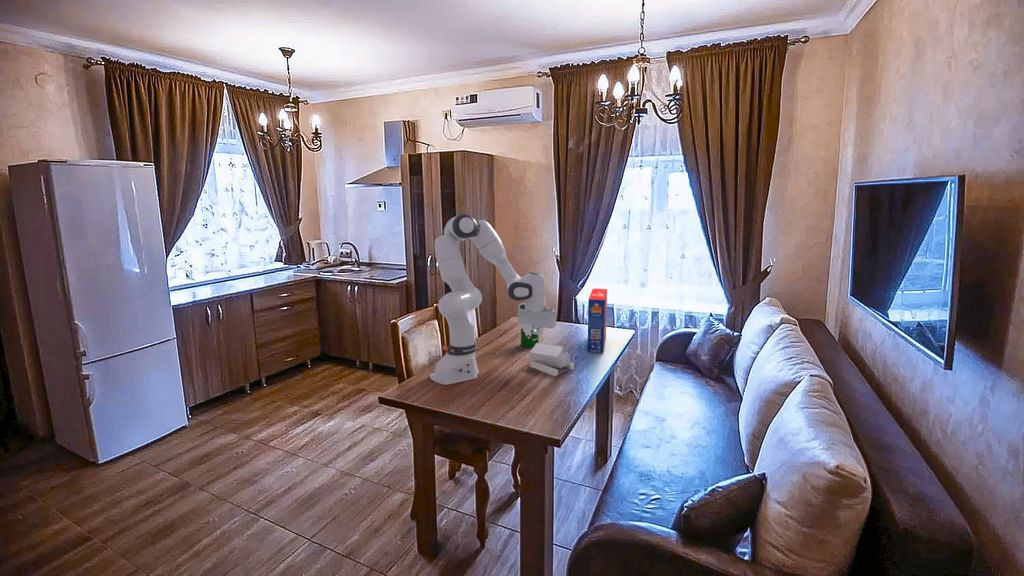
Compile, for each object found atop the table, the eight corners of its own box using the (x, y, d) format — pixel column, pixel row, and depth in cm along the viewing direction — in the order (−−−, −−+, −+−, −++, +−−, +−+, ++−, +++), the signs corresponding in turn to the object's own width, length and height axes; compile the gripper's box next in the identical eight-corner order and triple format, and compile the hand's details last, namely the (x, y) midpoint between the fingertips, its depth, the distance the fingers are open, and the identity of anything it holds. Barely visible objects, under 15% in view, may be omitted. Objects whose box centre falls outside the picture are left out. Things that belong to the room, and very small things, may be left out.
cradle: (554, 376, 215) (554, 370, 215) (530, 366, 227) (530, 361, 226) (574, 368, 224) (574, 363, 223) (549, 360, 235) (549, 355, 235)
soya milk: (527, 341, 265) (527, 306, 261) (541, 344, 259) (541, 308, 255) (518, 346, 258) (517, 309, 254) (532, 349, 253) (531, 312, 249)
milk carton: (536, 342, 232) (571, 347, 221) (539, 353, 235) (574, 359, 224) (529, 352, 227) (564, 358, 216) (533, 363, 230) (568, 369, 220)
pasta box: (603, 353, 244) (604, 299, 239) (587, 352, 246) (588, 299, 241) (605, 337, 271) (607, 289, 266) (591, 336, 273) (592, 288, 268)
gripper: (558, 307, 224) (558, 336, 226) (523, 302, 236) (523, 329, 238) (551, 310, 219) (551, 339, 221) (515, 304, 231) (515, 332, 233)
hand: (536, 334), depth 230 cm, fingers closed
